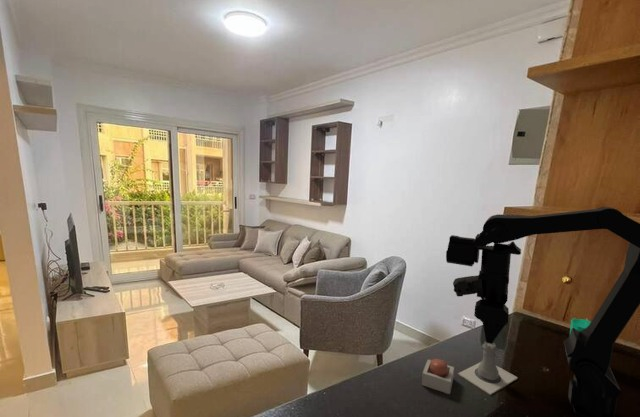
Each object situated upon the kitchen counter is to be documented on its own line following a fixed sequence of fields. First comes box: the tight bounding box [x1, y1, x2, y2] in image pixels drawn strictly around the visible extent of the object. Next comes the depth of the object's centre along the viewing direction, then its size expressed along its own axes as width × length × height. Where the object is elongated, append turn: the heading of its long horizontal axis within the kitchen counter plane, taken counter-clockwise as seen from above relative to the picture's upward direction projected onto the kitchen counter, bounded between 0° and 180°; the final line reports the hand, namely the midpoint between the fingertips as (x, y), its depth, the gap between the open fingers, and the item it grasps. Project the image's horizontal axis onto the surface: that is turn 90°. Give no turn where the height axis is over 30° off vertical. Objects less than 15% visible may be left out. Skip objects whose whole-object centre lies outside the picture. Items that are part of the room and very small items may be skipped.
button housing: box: [421, 358, 455, 395], centre depth 72 cm, size 6×6×3 cm
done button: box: [430, 358, 448, 378], centre depth 72 cm, size 4×4×2 cm
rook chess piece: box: [478, 341, 499, 380], centre depth 73 cm, size 4×4×8 cm
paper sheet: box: [457, 361, 518, 396], centre depth 74 cm, size 11×8×1 cm
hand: (489, 333), depth 72 cm, fingers open, 9 cm apart
